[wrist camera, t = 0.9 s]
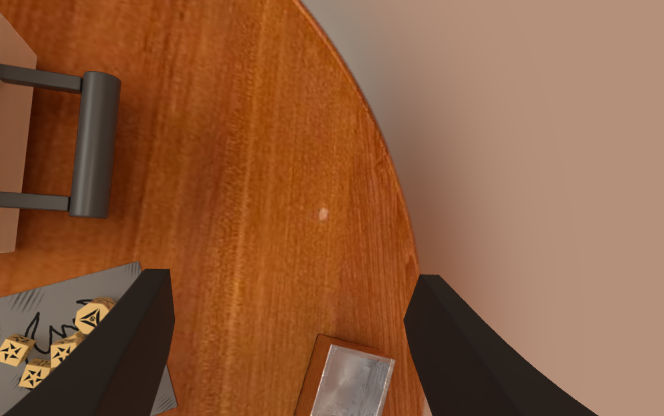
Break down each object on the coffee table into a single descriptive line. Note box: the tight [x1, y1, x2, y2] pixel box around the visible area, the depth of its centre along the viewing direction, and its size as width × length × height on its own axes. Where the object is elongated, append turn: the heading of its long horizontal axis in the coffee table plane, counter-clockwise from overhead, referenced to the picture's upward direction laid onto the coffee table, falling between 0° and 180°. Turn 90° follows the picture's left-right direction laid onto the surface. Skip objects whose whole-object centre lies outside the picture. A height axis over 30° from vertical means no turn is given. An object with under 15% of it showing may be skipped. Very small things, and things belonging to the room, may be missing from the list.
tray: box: [294, 334, 395, 416], centre depth 23 cm, size 6×4×2 cm
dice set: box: [0, 296, 116, 389], centre depth 18 cm, size 5×5×2 cm
